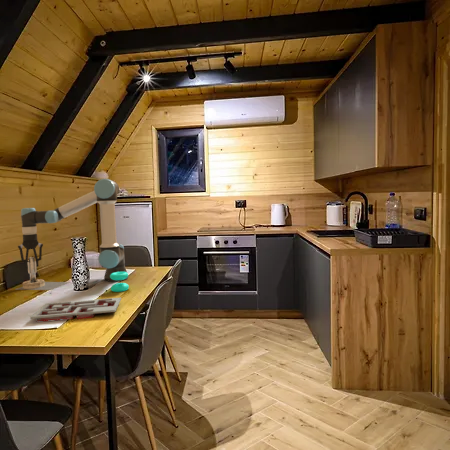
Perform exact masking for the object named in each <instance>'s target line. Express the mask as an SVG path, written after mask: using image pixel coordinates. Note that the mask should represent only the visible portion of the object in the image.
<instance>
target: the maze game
mask: <svg viewBox="0 0 450 450" xmlns="http://www.w3.org/2000/svg"><path fill="white" fill-rule="evenodd" d="M121 300H122V297H112V298H109V297H108V298H100V299H99V298H98V299H86V300H85V299H84V300H74V301H62V302H60V301H59V302H51V303H50V302H48V303H47V302H46V303H45V304H44V305H43V306H42V307H40V308H39V309H38V310H37V311H36V312H34V313H33V314H32V315H31V316H29V317H30V318H29V319H30V320H32V319H33V320H34V319H35V320H36V322H37V321H43V322H49V321H48V320H55V321H61V320H60V319H66V320H74V318H75V317H76V319H77V320H81V319H82V320H83V319H92V318H94V317H95V314H96V315H97V314H107V313H114V312H116V311H117V309H118V307H119V304H120V303H121Z"/></svg>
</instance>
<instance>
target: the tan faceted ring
mask: <svg viewBox="0 0 450 450" xmlns="http://www.w3.org/2000/svg"><path fill="white" fill-rule="evenodd" d="M44 282H45V279H43V278H42V279H41V278H40V279H38V278H36V282H33V283H30V280H26V281H23V282H22V287H23V288H24V289H33V288H39V287H42V286H44V285H45V283H44Z"/></svg>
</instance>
